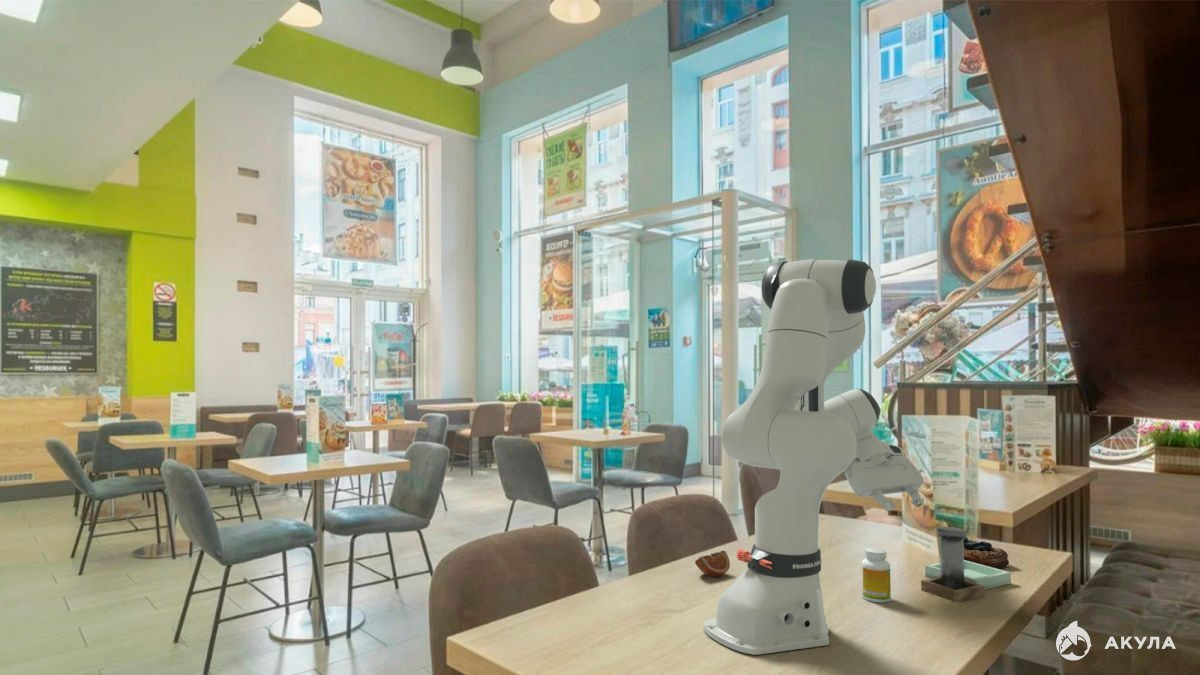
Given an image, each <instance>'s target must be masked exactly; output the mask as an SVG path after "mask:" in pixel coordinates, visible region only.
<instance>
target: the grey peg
mask: <svg viewBox="0 0 1200 675" xmlns="http://www.w3.org/2000/svg"><path fill="white" fill-rule="evenodd" d="M936 534H937V535H939V560H940V562H939V563H940V576H941V585H943V586H946V587H949V588H952V589H956V590H959V589H963V588H964V539H963V538H965V537H967V534H968V531H967V530H966V529H964V528H960V527H953V526H937V527H936ZM967 538H968V537H967Z"/></svg>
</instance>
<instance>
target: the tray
mask: <svg viewBox="0 0 1200 675" xmlns="http://www.w3.org/2000/svg"><path fill="white" fill-rule="evenodd" d="M924 569H925V570H924V571H925V572H924V573H925V575H924V576H925V577H927V578H928V579H930V578H935V577H939V576H940V562H935V563H931V564H926V565H924ZM1011 576H1012V574H1011V572H1010V571H1007V570H1003V569H996V568H992V567H989V566H985V565H981V564H977V563H974V562H970V561H966V560H964V580H966V581H969V582H973V583H976V584H980V585H983V586H984V591H986V590H990V588H991V589H994V587H995V588H997V586H999V587H1002V586H1001V585H1003V586H1005V585H1004V584H1007V585H1009V584H1008V583H1011V584H1012V581H1011V580H1012V577H1011Z"/></svg>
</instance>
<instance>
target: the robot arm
mask: <svg viewBox="0 0 1200 675" xmlns="http://www.w3.org/2000/svg"><path fill="white" fill-rule="evenodd" d="M876 291H877V282H876V277H875V275H874V270H873V268H872V266H870V265H869V264H868V263H867V262H865V261H861V260H858V259H848V260H838V259H819V258H811V259H809V258H808V259H801V260H800V259H799V260H794V261H793V260H792V261H780V262H777V263H773V264H770V266H769V267H768V268H766V270H765V272H764V273H763V276H762V279H761V294H762V295H761V296H762V299H763V301H764V303H765V305H766V306H767V307H768V309H770V313H769V318H768V322H767V323H768V324H767V330H766V336H765V337H766V338H765V344H764V351H763V352H764V353H763V357H762V364H761V369H760V374H759V376H758V379H757V381H756V383H755V386H754V387H753V389H752V391H751V393H750V394H749V395H748V397H747V399H746V400H745V401H744V402H743V403H742V404H741V405H740V407H738V408H736V409H735V410H734V411H733V412H731V413H730V414H729V415H728V416H727V418H726V419H725V421H724V423H723V426H722V429H721V442H722V446H723V449H724V451H725V452H726V455H727V456H729V458H731V459H733V460H735V461H738V462H740V463H742V464H746V465H748V466H751V467H755V468H765V469H772V470H779V480H778V482H777V486H776V487H775V488H774V489H772V490H770V491H767V492H766V493H764V494H763V495H762V496H761V497H760V498H758V501H756V503H755V506H754V544H753V546H752V548H751V551H748V550H745V549H743V548H739V549H737V552H736V558H737V560H738V561H740V562H743V563H747V565H746V566H747V568H745V569H744V571H743V572H742V573H741V574H740V575H739V576H737V578H736V579H735V580H734V581H733V582H732V583H731V584H730V585H729V586H728V587H727V588H726V589H725V590H724V591H723V592H722V593H720V596H719V597H718V598H719V599H718V602H717V608H716V609H717V611H716V617H715V618H711V619H708V620H706V621H704V622H703V630H704V632H705V634H706V635H707V636H709V637H710V638H712V639H713V640H715V641H716V642H717V643H719V644H721V645H722V646H725V647H727V648H730V649H732V650H734V651H737V652H740V653H743V654H747V655H748V654H749V655H753V656H755V655H756V656H757V655H758V656H759V655H763V654H772V653H778V652H779V653H780V652H786V651H787V650H788V651H794V650H800V649H801V650H802V649H808V648H816V647H823V646H824V647H825V646H829V645H830V638H829V632H830V630H829V626H828V623H827V619H826V616H825V608H824V601H823V594H822V593H823V592H822V588H821V580H820V572H821V571H822V556H821V555H822V553H821V552H822V551H821V549H820V548H819V525H820V524H819V523H820V522H819V520H820V519H819V518H820V508H821V503H822V500H823V498H824V494H825V493H826V490H827V489H828V487H829V485H830V484H831V483H832V482H833V481H834V479H835V478H836V477H838V476H839V475H841V474H842V473H844V475H845V478H846V480H847V482H848V484H849V486H850V487H851V490H852V491H853V493H855V494H856V496H858V497H860V498H866V497H871V498H872V499H873V500H874V501H875V502H877V503H878V504H880V506H882V507H883V508H884V510H885V511H886V512H890V511H891V512H892V511H893V510H894V509H895V508H896V504H895V503H894V502H893V500H892V499H889V498H888V497H886V496H885V495H891V494H898V493H907V494H908V496H909V495H910V497H911V500H910V503H911V504H912V505H913V506H914V508H919V507H921V506H922V505H924V500H923V499H922V498H921V497H920V492H919V488H920V487H921V486H922V485H924V483H925V482H924V477H923V475H922V474H921V472H920V471H919V470H918V468H917V467H916V466H915V464H914V463H913V462H912V461H911V460H910V459H909V458H908V457H906V456H904V455H905V451H904V449H902V448H901V447H900V446H897V445H893V444H889V443H887V442H885V441H881V440H880V438H879V437H878V436H877V435H875V434H874V432H873V429H874V428H875V427H876V426H877V423H878V421H879V419H880V416H881V408H880V405H879V404H878V401H877V400H876V399H875V398H874V396H873V395H872V394H871V393H870V392H868V391H866V390H865V389H862V388H858V387H857V388H854V389H850V390H848V391H845V392H843V393H840V394H838V395H836V396H834V397H832V398H829V399H826V400H825V384H826V381H827V379H828V378H829V376H830V375H831V373H833V371H834V370H836V369H837V367H839V366H840V365H841V364H842V363H844V361H846V360H848V359H849V358H851V357H852V356H853V355H854V354H855V353H856V352H857V351H858V350H859V349H860V347H861V346H862V345H863V343H864V341H865V336H866V321H865V313H864V312H865V311H866V310H867V309H868V308H869V307H871V306H872V305H873V302H874V298H875V295H876ZM799 401H800V407H799V409H800V410H796V406H797V405H798V402H799Z"/></svg>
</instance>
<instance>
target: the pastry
mask: <svg viewBox="0 0 1200 675" xmlns="http://www.w3.org/2000/svg"><path fill="white" fill-rule="evenodd" d="M963 539H964V560H966V561H970V562H974V563H977V564H981V565H985V566H989V567H992V568H996V569H999V568H1002V569H1004V568H1003V567H1005V568H1007V567H1006V566H1007V565H1009V563H1010V561H1009V559H1008V558H1009V555H1008V553H1007V552H1006V551H1005V549H1003V548H999V547H993V544H992V543H990V542H987V541H982V540H981V541H978V540H973V539H972V540H971V539H969V538H968V537H965V538H963Z"/></svg>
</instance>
